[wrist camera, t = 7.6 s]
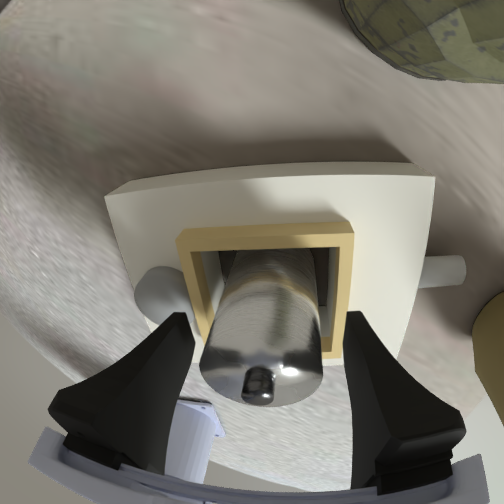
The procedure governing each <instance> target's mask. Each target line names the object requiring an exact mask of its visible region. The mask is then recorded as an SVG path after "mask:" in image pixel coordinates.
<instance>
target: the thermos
mask: <svg viewBox="0 0 504 504" xmlns="http://www.w3.org/2000/svg"><path fill="white" fill-rule="evenodd" d="M339 1H340V5H341V9H342V12H343V14H344V16H345V17H346V19H347V21H348V22H349V24H350V26H351V28H352V29H353V31H354V33H355V34H356V35H357V36H358V37H359V38H360V39H361V40H362V41H363V43H364V44H365V45H366V46H367V47H368V48H369V49H370V50H371V51H372V52H373V53H374V54H375V55H377V56H378V57H380V58H381V59H383V60H384V61H385V62H387V63H388V64H390V65H391V66H392V67H394V68H395V69H397V70H400V71H402V72H405V73H407V74H410V75H412V76H415V77H417V78H422V79H430V80H438V81H442V80H451V81H457V82H463V83H493V84H504V0H339Z"/></svg>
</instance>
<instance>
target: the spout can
mask: <svg viewBox="0 0 504 504" xmlns="http://www.w3.org/2000/svg"><path fill="white" fill-rule="evenodd" d="M199 367H200V372H201V375H202V376H203V378H204V380H205V381H206V382H207V384H208V385H209V386H210V387H211V388H213V389H214V390H215V391H216V392H218V393H219V394H221V395H223V396H224V397H226V398H229V399H231V400H233V401H236V402H239V403H242V404H246V405H251V406H259V407H277V406H285V405H289V404H293V403H296V402H299V401H301V400H303V399H305V398H307V397H309V396H310V395H311V394H313V393H314V392H315V391H316V390H317V389H318V387H319V386H320V384H321V381H322V378H323V365H322V348H321V333H320V319H319V307H318V296H317V285H316V275H315V266H314V259H313V256H312V253H311V251H310V250H309V248H282V249H252V250H238V251H237V253H236V256H235V259H234V262H233V265H232V268H231V271H230V273H229V276H228V279H227V282H226V285H225V288H224V291H223V294H222V296H221V299H220V302H219V305H218V308H217V311H216V314H215V317H214V320H213V323H212V326H211V328H210V331H209V334H208V337H207V340H206V343H205V346H204V349H203V352H202V355H201V358H200V363H199Z"/></svg>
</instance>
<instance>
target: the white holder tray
mask: <svg viewBox="0 0 504 504" xmlns="http://www.w3.org/2000/svg"><path fill="white" fill-rule="evenodd" d="M434 188H435V176H433V175H432V174H430V173H429V172H427V171H425V170H424V169H422V168H420V167H419V166H417V165H415V164H414V163H399V162H305V163H283V164H266V165H252V166H240V167H229V168H219V169H210V170H201V171H192V172H184V173H177V174H170V175H163V176H156V177H150V178H143V179H137V180H131V181H128V182H127V183H125V184H123V185H122V186H120V187H118V188H117V189H115V190H114V191H112V192H110V193H109V194H107V195H106V196H104V198H105V202H106V206H107V209H108V213H109V216H110V220H111V223H112V227H113V230H114V233H115V236H116V240H117V243H118V246H119V249H120V252H121V255H122V258H123V261H124V264H125V267H126V270H127V272H128V275H129V278H130V281H131V283H132V286H133V289H134V297H135V301H136V304H137V306H138V308H139V309H140V311H141V312H142V313H143V314H144V317H145V319H146V321H147V324H148V326H149V328H150V331H151V333H152V332H153V331H154V330H155V329H156V328H157V327H158V326H159V325H160V324H161V323H163V322H164V321H165V320H166V319H167V318H168V317H169V316H170V315H171V314H172V313H173V312H186V314H187V317H188V321H189V324H190V327H191V330H192V333H193V336H194V339H195V342H196V344H195V349H194V354H193V358H192V362H194V363H200V358H201V355H202V352H203V349H204V346H205V343H206V340H207V337H208V334H209V331H210V328H211V326H212V323H213V320H214V317H215V314H216V311H217V308H218V305H219V302H220V299H221V296H222V294H223V291H224V288H225V286H224V280H223V275H222V270H221V265H220V259H219V254H218V251H223V250H252V249H282V248H312V247H329V267H328V291H327V306H318V307H319V319H320V333H321V348H322V365H323V366H330V365H344V359H343V345H342V343H343V336H344V329H345V321H346V313H347V311H361V312H362V313H363V315H364V316H365V318H366V319H367V321H368V323H369V324H370V326H371V327H372V329H373V330H374V332H375V333H376V334H377V336H378V337H379V339H380V340H381V341H382V343H383V344H384V345H385V347H386V348H387V349H388V351H389V352H390V353H391V354H392V355H393V357H394V358H395V359H396V358H397V356H398V353H399V350H400V347H401V344H402V341H403V338H404V335H405V332H406V328H407V325H408V322H409V318H410V315H411V311H412V308H413V304H414V300H415V296H416V293H417V288H428V287H440V286H451V285H461V284H462V283H463V282H464V280H465V277H466V264H465V261H464V259H463V257H462V256H460V255H450V256H429V257H425V252H426V246H427V241H428V235H429V228H430V222H431V214H432V207H433V198H434Z"/></svg>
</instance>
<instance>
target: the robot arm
mask: <svg viewBox="0 0 504 504" xmlns="http://www.w3.org/2000/svg"><path fill="white" fill-rule="evenodd" d="M195 344H196V342H195V339H194V336H193V333H192V330H191V327H190V324H189V321H188V317H187V314H186V312H173V313H172V314H171V315H170V316H169V317H168V318H167V319H166V320H165V321H164V322H163V323H161V324H160V325H159V326H158V327H157V328H156V329H155V330H154V331H153V332H152V333H151V334H150V335H149V336H148V337H147V338H146V339H145V340H143V341H142V342H141V343H140V344H139V345H138V346H136V347H135V348H134V349H133V350H132V351H131V352H129V353H128V354H127V355H125V356H124V357H123V358H121V359H120V360H119V361H117V362H116V363H114V364H113V365H111V366H110V367H108V368H106V369H105V370H103V371H101V372H100V373H98V374H96V375H94V376H92V377H90V378H88V379H86V380H84V381H82V382H80V383H77V384H75V385H72V386H69V387H66V388H64V389H61V390H59V391H58V392H57V394H56V396H55V397H54V399H53V401H52V403H51V404H50V406H49V408H48V411H49V414H50V415H51V416H52V418H53V419H54V420H55V421H56V422H57V423H58V424H59V425H60V426H61V427H63V428H64V429H65V430H66V431H67V432H68V434H67V436H66V437H65V436H64V435H62V434H61V433H59V432H57V431H55V430H53V429H51V428H49V427H45V429H44V431H43V432H42V434H41V436H40V438H39V440H38V442H37V444H36V446H35V448H34V450H33V452H32V454H31V456H30V458H29V460H28V464H30V465H31V466H33V467H34V468H36V469H37V470H39V471H40V472H42V473H43V474H45V475H46V476H48V477H49V478H51V479H53V480H54V481H56V482H57V483H59V484H61V485H63V486H64V487H66V488H68V489H70V490H71V491H73V492H75V493H77V494H79V495H81V496H83V497H85V498H86V499H88V500H90V501H93V502H95V503H97V504H212V503H218V504H488V503H489V502H490V500H489V493H488V487H487V481H486V476H485V471H484V467H483V462H482V457H481V454H477V455H475V456H472V457H469V458H466V459H464V460H461V461H458V462H456V463H454V464H452V465H451V461H450V459H451V458H452V457H453V454H452V449H453V448H454V447H455V446H456V445H457V444H458V443H459V442H460V441H461V440H462V439H463V437H464V436H465V434H466V428H465V424H464V421H463V418H462V416H461V414H460V411H459V410H457V409H455V408H454V407H452V406H450V405H449V404H447V403H445V402H444V401H442V400H441V399H439V398H438V397H436V396H435V395H434V394H432V393H431V392H430V391H428V390H427V389H426V388H425V387H424V386H422V385H421V384H420V383H419V382H417V381H416V380H415V379H414V378H413V377H412V376H411V375H410V374H409V373H408V372H407V371H406V370H405V369H404V368H403V367H402V366H401V365H400V364H399V363H398V361H397V360H396V359H395V358H394V357H393V355H392V354H391V353H390V352H389V351H388V349H387V348H386V347H385V345H384V344H383V343H382V341H381V340H380V339H379V337H378V336H377V334H376V333H375V332H374V330H373V329H372V327H371V326H370V324H369V323H368V321H367V319H366V318H365V316H364V315H363V313H362V312H361V311H347V313H346V321H345V329H344V336H343V343H342V345H343V359H344V368H345V373H346V379H347V384H348V390H349V396H350V402H351V409H352V429H353V455H352V477H351V489H350V490H341V491H327V492H299V493H298V492H295V493H294V492H265V491H251V490H241V489H232V488H224V487H217V486H211V485H205V484H203V480H204V477H205V473H206V468H207V464H208V460H209V456H210V452H211V448H212V444H213V439H214V437H225V435H226V434H225V432H224V429H223V427H222V425H221V423H220V420H219V418H218V416H217V414H216V411H215V409H214V407H213V405H211V404H209V403H201V402H193V401H185V400H178V397H179V394H180V392H181V389H182V386H183V384H184V381H185V378H186V376H187V373H188V370H189V368H190V365H191V362H192V358H193V354H194V349H195ZM211 502H212V503H211Z"/></svg>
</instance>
